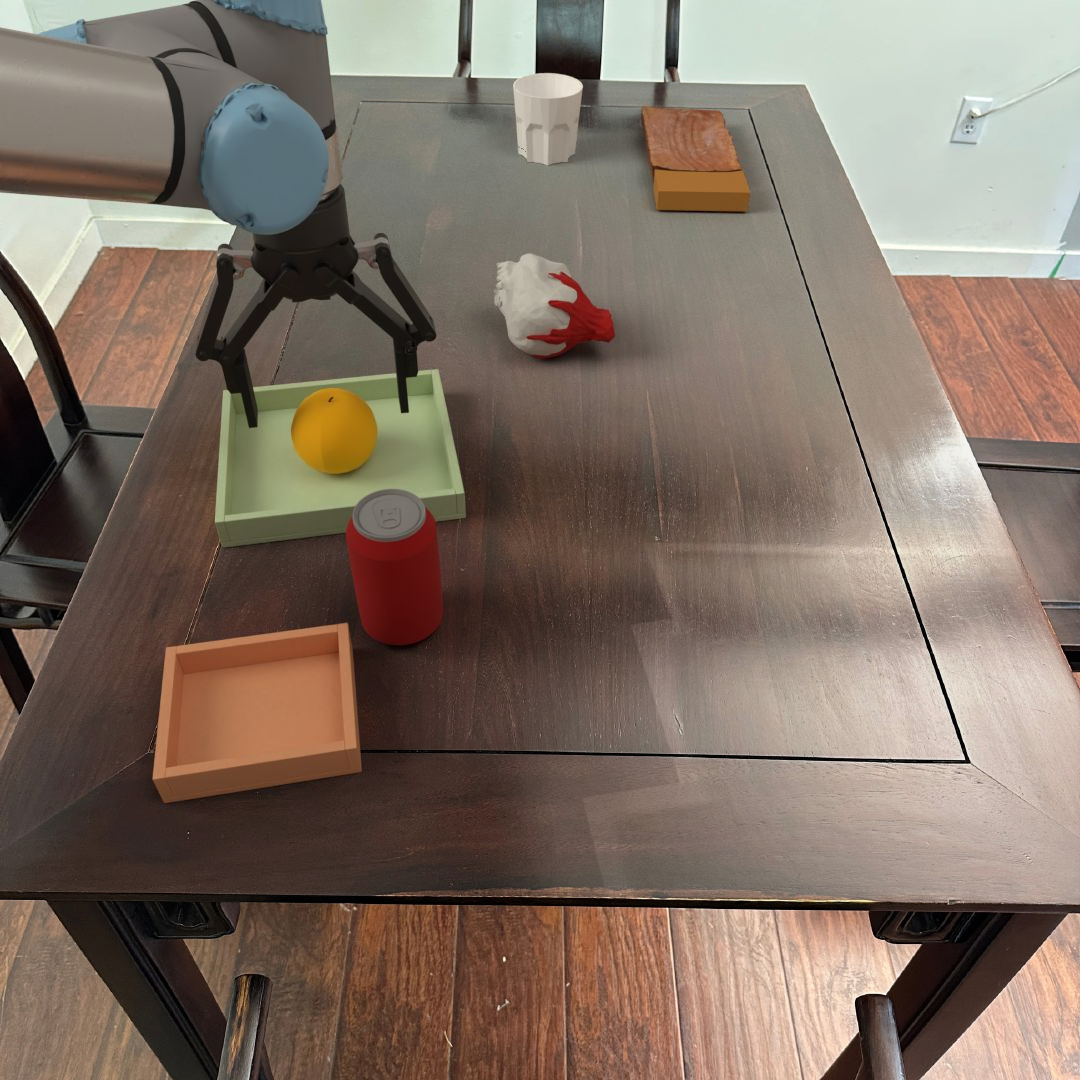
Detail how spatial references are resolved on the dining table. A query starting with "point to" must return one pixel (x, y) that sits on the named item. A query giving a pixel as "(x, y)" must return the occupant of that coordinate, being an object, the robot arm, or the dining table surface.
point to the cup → (547, 116)
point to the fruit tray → (321, 498)
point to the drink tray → (257, 713)
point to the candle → (547, 308)
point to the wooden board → (693, 161)
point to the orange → (334, 431)
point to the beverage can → (395, 566)
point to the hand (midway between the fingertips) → (329, 412)
